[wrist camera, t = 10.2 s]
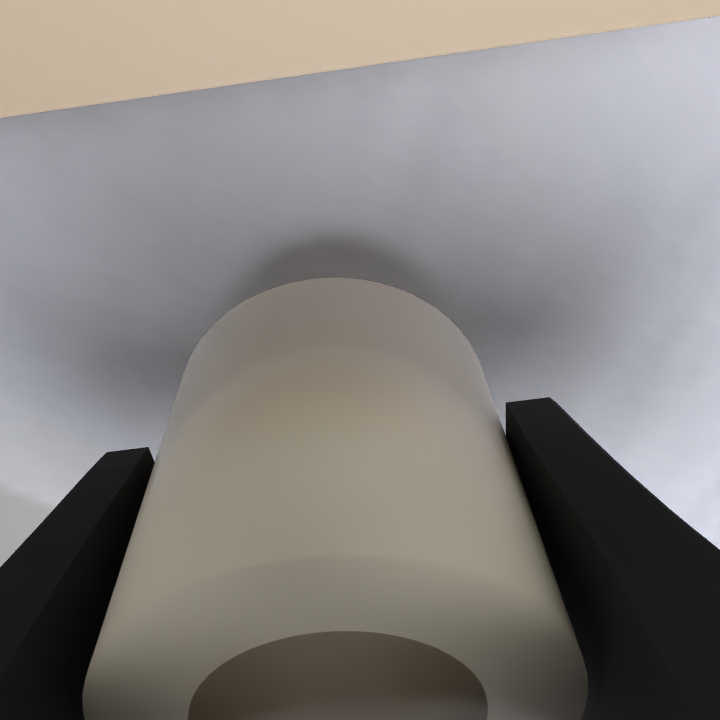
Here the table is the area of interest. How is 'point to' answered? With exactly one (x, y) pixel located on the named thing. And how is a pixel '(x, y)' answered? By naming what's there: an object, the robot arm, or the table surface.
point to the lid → (267, 39)
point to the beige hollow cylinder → (335, 532)
